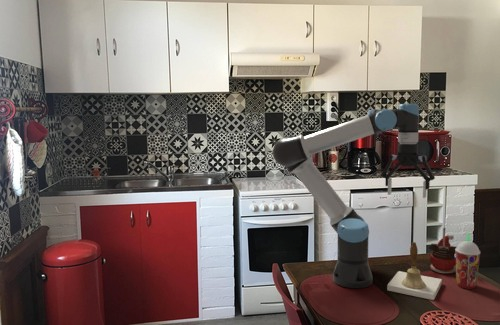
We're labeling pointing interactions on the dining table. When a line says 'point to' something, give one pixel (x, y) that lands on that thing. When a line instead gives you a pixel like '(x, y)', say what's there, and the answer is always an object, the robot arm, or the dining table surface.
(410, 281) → the hand bell
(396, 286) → the stand
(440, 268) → the cake
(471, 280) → the smoothie
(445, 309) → the dining table surface
